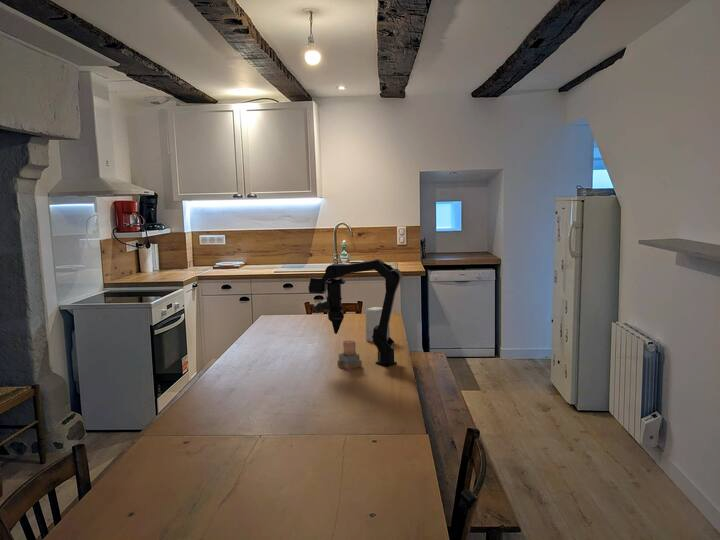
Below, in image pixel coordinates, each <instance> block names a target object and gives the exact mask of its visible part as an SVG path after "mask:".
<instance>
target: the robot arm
mask: <svg viewBox="0 0 720 540" xmlns="http://www.w3.org/2000/svg"><path fill="white" fill-rule="evenodd" d="M374 270H375V271H376V272H377V273H378V274H379V275H380V276H381V277H383V278H384V279H385V281H384V282H385V283H384V284H385V293H384V299H383V304H382V307H381V308H382V313H381V318H380V323H379V326H378V325H376V326H375V327H374V329H373V336H372V338H373V342H372V343H373V344H374V346H376V348H377V361H375V364H377V365H380V366H383V367H385V368H386V367H389V366H393V365H396V364H398V362H397V361H395V349H394V345H395V343H396V342H395V341H394V340H393V338H391V337H390V333H391V332H390V321H391V317H392V311H393V307H394V304H395V303H394V302H395V299H396V297H395V296H396V292H397V290H398V287H400V284H401V281H402V279H403V273H402V271H401V270H400V269H398V268H394V267H392V266H390V265H389V264H387V263H385V262H384V261H383V260H381V259H379V258H376V259H374V260H367V261H360V262H355V263H354V262H353V263H338V262H337V263H332V264H330V265H327V267H326V268H325V270H324V271H325V273H324V274H323V276H322V277H313V276H312V277H310V278H309V279H310V281H309V284H308V292H309V294H311V295H313V294H315V295H324V294H325V292H327V295H326V299H325V300H321V301H318V302H317V303H314V304H313V307H314V310H315V312H316V314H319V313H321V312H322V311H325V310H326V314H327V317H328V321H330V322H331V324H332V329H333V333H334V334H335V335H337V334H338V333H339V330H340V328H341V326H342V322H343V321H344V317H345V314H344V311H343V307H342V298H343V297H342V285H344V284H346V280H344V278H343V276H345V275H350V274H355V273H362V272H367V271H374ZM337 278H339V279H337ZM330 280H331V281H330Z"/></svg>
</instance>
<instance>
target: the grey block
mask: <svg viewBox="0 0 720 540" xmlns="http://www.w3.org/2000/svg"><path fill="white" fill-rule="evenodd" d="M338 360H340V361H343V362H345V363H352V362H356V361H360V360H361V359H360V353H359V354H358V353H357V352H356V355H353V356H345V355H344V352H342V353H338Z"/></svg>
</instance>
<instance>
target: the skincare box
mask: <svg viewBox="0 0 720 540" xmlns="http://www.w3.org/2000/svg"><path fill="white" fill-rule="evenodd" d="M382 308H383V307H379V306H373V307H369V308H365V340H366V342H370V343H373V338H372V336H373V329H374V327H375V326H376V325H378V326H379V323H380V318H381V313H382Z"/></svg>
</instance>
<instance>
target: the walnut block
mask: <svg viewBox="0 0 720 540" xmlns="http://www.w3.org/2000/svg"><path fill="white" fill-rule="evenodd" d="M338 366H339V367H338ZM361 366H362V367H363V361H362V360H361V359H360V361H356V362H352V363H345V362H343V361H340V360H339V359H338V360H337V367H338V368H341V367H342V368H341V369H343V368H344V369H343V370H346V369H347V371H351V369H352V370H354V368H355V369H358V367H359V368H362V367H361Z"/></svg>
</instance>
